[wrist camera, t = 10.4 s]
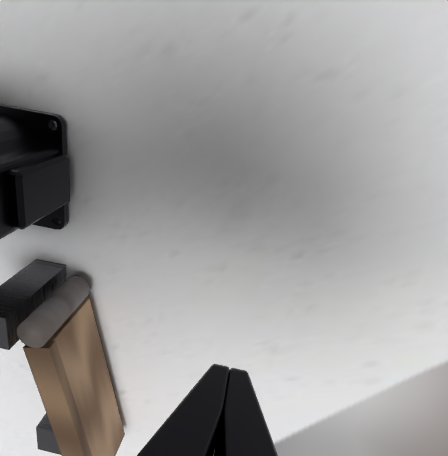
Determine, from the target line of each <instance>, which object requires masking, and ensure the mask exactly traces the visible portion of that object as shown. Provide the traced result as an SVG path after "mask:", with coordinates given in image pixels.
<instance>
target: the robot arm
mask: <svg viewBox="0 0 448 456" xmlns="http://www.w3.org/2000/svg"><path fill="white" fill-rule="evenodd" d="M53 120H54V121H55V122H56V123H57V129H56V128H54V126H53V124H52V123H53ZM69 201H70V178H69V159H68V157H67V145H66V123H65V121H64V119H63V118H62V117H61V116H59V115H57V114H52V113H46V112H40V111H35V110H29V109H24V108H18V107H13V106H7V105H2V104H0V239H1V238H3V237H5V236H7V235H8V234H10V233H12V232H13V231H15V230H17V229H25V228H26V227H28V226H30V225H31V224H33V225H38V226H43V227H48V228H52V229H62V228H64V227H65V226H66V225H67V224H68V202H69ZM56 218H58V219H59V220H60V222H61V223H59V222H58V221H57V220H56ZM213 455H214V456H278V455H277V452H276V449H275V446H274V444H273V441H272V438H271V435H270V433H269V430H268V427H267V424H266V422H265V419H264V416H263V413H262V410H261V408H260V405H259V402H258V399H257V397H256V394H255V391H254V388H253V386H252V383H251V380H250V377H249V375H248V373H247V372H246V371H245V370H240V369H236V368H231V369H229V367H227V366H222V365H218V364H213V365H212V366H211V367H210V368H209V369H208V371H207V372H206V373H205V374H204V375H203V377H202V378H201V379H200V380H199V381H198V383H197V384H196V385H195V386H194V387H193V389H192V390H191V391H190V392H189V393H188V395H187V396H186V397H185V398H184V399H183V401H182V402H181V403H180V404H179V405H178V407H177V408H176V409H175V410H174V412H173V413H172V414H171V415H170V416H169V418H168V419H167V420H166V421H165V422H164V424H163V425H162V426H161V427H160V428H159V430H158V431H157V432H156V433H155V434H154V436H153V437H152V438H151V439H150V440H149V442H148V443H147V444H146V445H145V446H144V448H143V449H142V450H141V451H140V452H139V454H138V455H137V456H213Z"/></svg>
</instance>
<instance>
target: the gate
mask: <svg viewBox="0 0 448 456" xmlns="http://www.w3.org/2000/svg"><path fill="white" fill-rule="evenodd" d="M89 293H90V287H89V285H88V283H87V282H86V281H85V280H84V279H82V278H80V277H77V276H72V277H70V278H68V279H67V280H66V281H65V282H64V283H63V284H62V285H61V286H60V287H59V288H58V289H57V290H56V291H55V292H53V293H52V294H51V295H50V296H49V297H48V298H47V299H46V300H45V301H44V302H43V303H42V304H41V305H40V306H39V307H38V308H37V309H36V310H35V311H34V312H32V313H31V314H30V315H29V316H28V317H27V318H26V319H25V320H24V321H23V322H22V323H21V324H20V325H19V326H18V328H17V335H18V337H19V339H20V340H21V341H22V342H23V343H24V344H25V346H24V347H23V349H24V352H25V355H26V357H27V360H28V363H29V366H30V369H31V371H32V374H33V377H34V380H35V382H36V385H37V388H38V391H39V393H40V396H41V399H42V402H43V404H44V407H45V410H46V413H47V415H48V418H49V421H50V424H51V427H52V429H53V432H54V435H55V438H56V440H57V443H58V446H59V449H60V451H61V454H62V456H115V455H116V453H117V451H118V448H119V446H120V444H121V442H122V439H123V437H124V435H125V433H124V429H123V425H122V422H121V418H120V414H119V410H118V406H117V402H116V398H115V395H114V391H113V387H112V383H111V379H110V375H109V372H108V368H107V364H106V360H105V356H104V352H103V349H102V345H101V341H100V337H99V333H98V329H97V325H96V322H95V318H94V314H93V310H92V306H91V302H90V299H89V298H86V297H87V296H88V295H89Z"/></svg>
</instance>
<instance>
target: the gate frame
mask: <svg viewBox="0 0 448 456" xmlns="http://www.w3.org/2000/svg"><path fill="white" fill-rule="evenodd" d="M65 281H66V265H61V264H56V263H52V262H47V261H42V260H37V259H36V260H34V261H33V262H32V263H30V264H29V265H28V266H26V267H25V268H23V269H22V270H21V271H19V272H18V273H17V274H15V275H14V276H13V277H11V278H10V279H9V280H7V281H6V282H5V283H3V284H2V285H1V286H0V348H3V349H7V350H9V349H10V348H11V347H12V346H13V345H14V344H15V343H16V342H17V341H18V340H19V337H18V335H17V328H18V326H19V325H20V324H21V323H22V322H23V321H24V320H25V319H26V318H27V317H28V316H29V315H30V314H31V313H32V312H34V311H35V310H36V309H37V308H38V307H39V306H40V305H41V304H42V303H43V302H44V301H45V300H46V299H47V298H48V297H49V296H50V295H51V294H52V293H53V292H55V291H56V290H57V289H58V288H59V287H60V286H61V285H62V284H63V283H64V282H65ZM36 431H37V443H38V449H40V450H44V451H48V452H52V453H56V454H60V455H62V454H61V451H60V449H59V446H58V443H57V440H56V438H55V435H54V432H53V429H52V427H51V424H50V421H49V418H48V415H47V413H46V414H45V416H44V417H43V419H42V420H41V421H40V423H39V424H38V426H37V427H36Z"/></svg>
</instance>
